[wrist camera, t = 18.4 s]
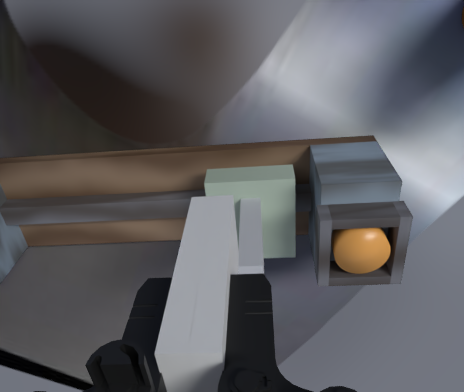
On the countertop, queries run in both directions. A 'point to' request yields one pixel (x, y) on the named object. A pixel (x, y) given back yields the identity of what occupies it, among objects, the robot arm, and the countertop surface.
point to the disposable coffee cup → (463, 17)
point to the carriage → (259, 211)
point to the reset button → (360, 249)
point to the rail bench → (141, 180)
